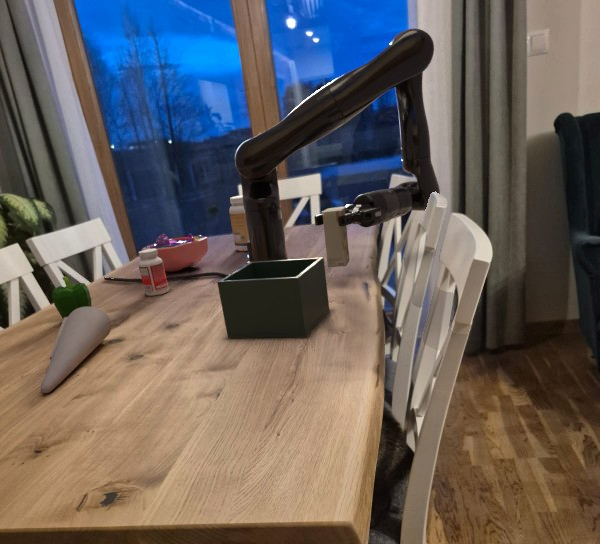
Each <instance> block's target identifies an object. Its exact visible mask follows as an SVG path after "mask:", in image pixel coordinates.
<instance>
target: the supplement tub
mask: <svg viewBox="0 0 600 544" xmlns="http://www.w3.org/2000/svg"><path fill="white" fill-rule="evenodd" d="M229 201H230V202H229V203H230V204H231V206H230V207H229V211H228V213H229V218H230V225H231V230H232V237H233V243H234V247H235V249H236V250H237V251H239V252H248V250H247V242H249V237H248V230H247V224H246V218H245V212H244V206H243V195H242V194H241V195H236V196H232V197H229Z"/></svg>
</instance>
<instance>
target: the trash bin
mask: <svg viewBox="0 0 600 544" xmlns="http://www.w3.org/2000/svg"><path fill="white" fill-rule="evenodd" d="M244 265H245V266H244ZM244 265H242V266H243V267H242V266H240V267H241V268H240V267H239V268H240V269H238V268H237V269H238V270H237V269H236V270H234V271H233V272H231V273H229V274H230V275H228V276H226V277H222V279H220V280H218V281H217V287H218V294H219V299H220V304H221V311H222V314H223V320H224V326H225V329H226V336H227V339H274V338H275V339H277V338H278V339H279V338H281V339H282V338H285V339H286V338H287V339H288V338H307V337H308V336H309V334H310V333H311V332H312V331H313V330H314V329H315V328H316V327H317V326H318V325H319V323H320V322H321V320H323V319H324V317H325V316H326V315H327V314H328V313H329V312H330V303H329V294H328V283H327V278H326V266H325V257H309V258H307V257H306V258H292V259H289V258H288V260H273V261H257V262H250V263H248V264H246V263H245V264H244Z"/></svg>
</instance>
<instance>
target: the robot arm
mask: <svg viewBox="0 0 600 544" xmlns="http://www.w3.org/2000/svg"><path fill="white" fill-rule="evenodd" d="M434 43H435V42H434V40H433V37H432V36H431V34H429V33H428V32H427V31H425V30H424V29H420V28H415V27H414V28H409V29H405V30H403V31H401V32H399V33H397V34H396V35H395V36H394V37H393V39H391V41H390V43H389V45H388V46H387V47H386V48H384V49H383V50H382V51H381V52H379V54H377V55H376V56H375V57H373V58H372V59H370V60H369V61H368V62H366V63H365V64H363V65H361V66H359V67H357V68H354V69H352V70H350V71H348V72H346V73H344V74H342V75H341V76H339V77H336V78H335V79H333V80H332V81H331V82H328V83H327V84H326V85H324V86H322V87H321V88H320V89H318V90H316V91H315V92H314V93H312V94H311V95H310V96H308V97H307V98H306V99H304V100H303V101H302V102H301V103H300V104H299V105H297V106H296V107H295V108H294V109H293V110H292V111H291V112H290V113H288V114H287V115H286V116H285V117H284V118H283V119H282V120H281V121H279V122H278V123H276V124H274V125H273V126H272V127H270V128H268V129H266V130H265V131H263V132H261V133H259V134H257V135H255V136H254V137H251V138H249V139H247V140H245V141H243V142H242V143H241V144H240V145H239V146H238V147H237V150H236V151H235V155H234V164H235V168H236V170H237V172H238V173H239V178H240V179H239V180H240V184H241V195H243V206H244V212H245V218H246V224H247V230H248V237H249V242H247V250H248V251H247V258H248V261H247V262H245V264H244V265H242V266H240V267H238V268H237V269H236V270H238V269H240V268H241V267H243V266H245V265H246V264H248V263H250V262H257V261H273V260H289V258H288V257H289V256H288V249H287V243H286V236H285V235H286V234H285V228H284V219H283V214H282V207H281V199H280V197H281V195H280V186H279V180H278V172H277V167H278V166H280V164H282V163H283V162H285V161H286V160H287V159H288V158H289V157H291V156H292V155H293V154H295V153H296V152H298V151H299V150H302V149H304V148H306V147H308V146H309V145H312V144H313V143H316V142H317V141H319V140H322V139H323V138H325V137H326V136H328V135H330V134H332V133H333V132H335V131H336V130H338V129H339V128H340V127H342V126H344V125H345V124H347V123H348V122H349V121H351V120H352V119H353V118H355V117H356V116H358V115H359V114H360V113H361V112H363V111H364V110H365V109H366V108H368V107H369V106H370V105H371V104H373V103H374V102H375V101H377V99H379V98H380V97H381V96H382V95H384V94H385V93H387V92H388V91H390V90H392V89H394V91H395V98H396V104H397V111H398V127H399V140H400V141H399V143H400V157H401V167H402V169H403V171H404V172H406V173H408V174H411V175H413V176H414V177H415V180H416V181H415V180H413V181H405V182H401V183H399V184H398V185H396V186H394V187H390V188H386V189H383V188H382V189H377V190H373V191H369V192H365V193H362V194H358V195H357V196H356V197H355V198H354V200H353V203H351V204H350V203H349V204H346V205H345V206H343V207H345V215H341V216H339V217H338V223H339V226H346V227H347V226H350V225H358V226H360V227H362V228H371V227H374V226H377V225H380V224H383V223H387V222H390V220H394V219H397V218H400V217H403V216H405V215H406V214H408V213H409V212H410V211H418V212H419V211H420V212H426V211H425V209H426V207H427V203H428V199H429V197H430V194H431V193H432V192H435V191H436V192H437V193H439V194H440V195H441V191H440V185H439V182H438V179H437V175H436V173H435V169H434V166H433V163H432V155H431V153H432V151H431V136H430V128H429V123H428V119H427V113H426V108H425V103H424V94H423V76H424V72H425V71H426V69H427V68H428V67H429V66H430V64H431V63H432V61H433V57H434V54H435V44H434ZM337 207H338V206H335V208H337ZM324 210H325V209H324ZM324 210H322V211H321V213H320V214H316V215H314V217H313V218H314V224H315V226H317V227H318V226H322V225H323V226H324V223H323V212H324ZM230 274H231V273H223V272H219V271H209V272H200V273H192V274H182V275H173V276H172V275H171V276H166V278H167V281H174V280H185V279H195V278H203V277H222V278H225V277H226V276H228V275H230ZM105 277H106V276H104V277H103V280H104V281H111V282H123V283H143V282H142V278H126V277H125V278H123V277H111V276H108V277H109V278H105ZM111 278H114V279H111Z"/></svg>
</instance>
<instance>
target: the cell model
mask: <svg viewBox="0 0 600 544" xmlns="http://www.w3.org/2000/svg"><path fill="white" fill-rule="evenodd" d="M208 241H209V240H208V237H207V236H203V235H201V234H199V235H196V236H193V235H192V233H188V236H183V237H175V238H169V237H168V236H167V234H165V233H161V234H160V235H159V236H158V237H157V238H156V240H155V242H154V243H151V244H148V245H145V246H144V247H142V248H141V251H143V250H147V249H157V252H158V255H157V257H159V258H161V259H162V261H163V266H164V270H165V272H167V273H173V272H175V273H176V272H179V271H181V270H183V269H186V268H190V267H194V266H195V265H198V264H199V263H200V262H201V261H202V260H203V259H204V258H205V256H206V255H207V253H208V250H209V242H208Z"/></svg>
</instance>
